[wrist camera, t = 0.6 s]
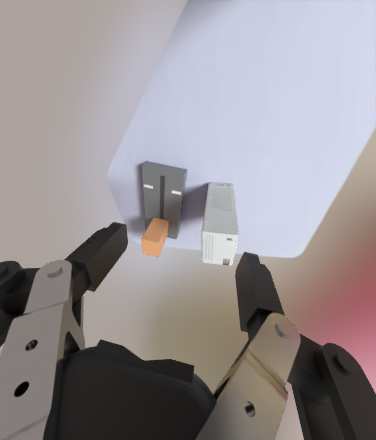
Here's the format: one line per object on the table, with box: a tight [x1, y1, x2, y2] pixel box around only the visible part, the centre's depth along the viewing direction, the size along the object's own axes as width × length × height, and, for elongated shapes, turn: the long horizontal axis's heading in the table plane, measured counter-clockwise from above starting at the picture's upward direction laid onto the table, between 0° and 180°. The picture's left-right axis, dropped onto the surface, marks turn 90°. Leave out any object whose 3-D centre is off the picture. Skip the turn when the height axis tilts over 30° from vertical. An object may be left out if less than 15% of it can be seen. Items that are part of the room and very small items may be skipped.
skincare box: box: [202, 183, 239, 266], centre depth 24 cm, size 6×4×12 cm
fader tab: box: [141, 217, 169, 257], centre depth 30 cm, size 4×3×6 cm
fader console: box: [142, 161, 187, 239], centre depth 30 cm, size 15×7×2 cm, turn 172°
